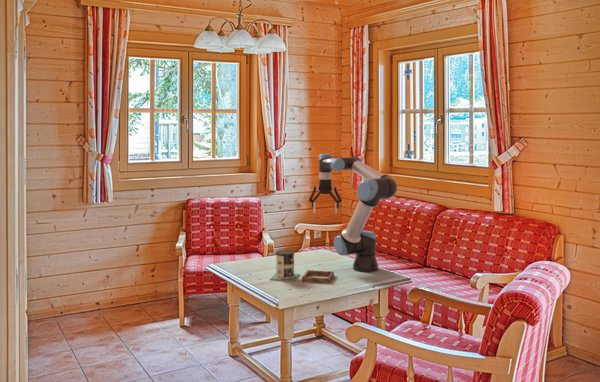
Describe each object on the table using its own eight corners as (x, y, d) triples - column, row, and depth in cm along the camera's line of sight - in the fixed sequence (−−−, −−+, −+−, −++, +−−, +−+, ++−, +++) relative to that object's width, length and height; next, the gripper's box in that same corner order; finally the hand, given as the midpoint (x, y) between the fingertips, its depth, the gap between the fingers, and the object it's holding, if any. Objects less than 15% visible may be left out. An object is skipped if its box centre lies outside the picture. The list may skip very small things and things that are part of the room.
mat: (299, 274, 340) (299, 273, 340) (294, 281, 327) (294, 280, 326) (276, 273, 343) (276, 272, 343) (270, 280, 329) (270, 278, 329)
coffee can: (295, 274, 339) (295, 250, 337) (292, 279, 329) (292, 254, 327) (278, 273, 341) (278, 249, 339) (274, 278, 331) (274, 253, 329)
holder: (333, 275, 338) (333, 271, 337) (329, 283, 323) (329, 278, 322) (307, 274, 341) (307, 270, 341) (302, 281, 326) (302, 277, 326)
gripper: (304, 179, 358) (304, 213, 361) (344, 180, 353) (344, 214, 356) (306, 177, 366) (306, 211, 368) (346, 178, 360) (346, 212, 363)
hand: (325, 213), depth 362 cm, fingers open, 13 cm apart
